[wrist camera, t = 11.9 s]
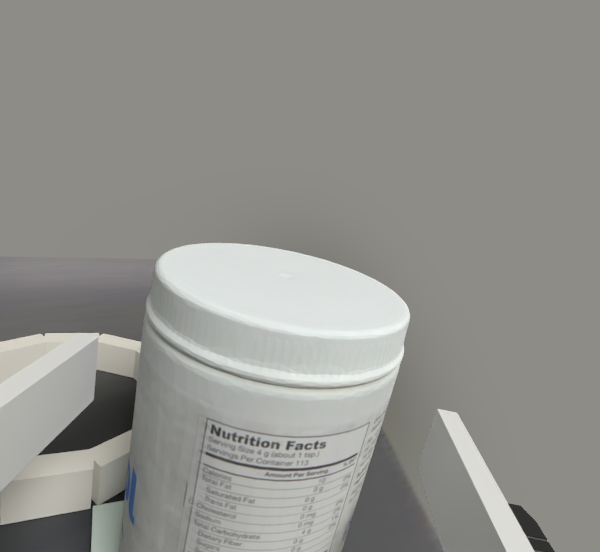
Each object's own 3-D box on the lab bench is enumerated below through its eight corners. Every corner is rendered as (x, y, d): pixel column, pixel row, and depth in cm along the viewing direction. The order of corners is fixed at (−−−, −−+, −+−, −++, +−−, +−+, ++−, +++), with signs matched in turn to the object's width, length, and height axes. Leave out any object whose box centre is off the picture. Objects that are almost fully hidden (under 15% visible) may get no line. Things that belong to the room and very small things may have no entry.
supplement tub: (128, 494, 21) (157, 228, 18) (294, 484, 24) (350, 256, 21) (90, 742, 12) (133, 315, 9) (358, 678, 16) (477, 340, 12)
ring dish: (-49, 364, 29) (-50, 333, 29) (168, 357, 36) (171, 332, 36) (-177, 557, 16) (-184, 509, 15) (202, 487, 23) (208, 452, 23)
